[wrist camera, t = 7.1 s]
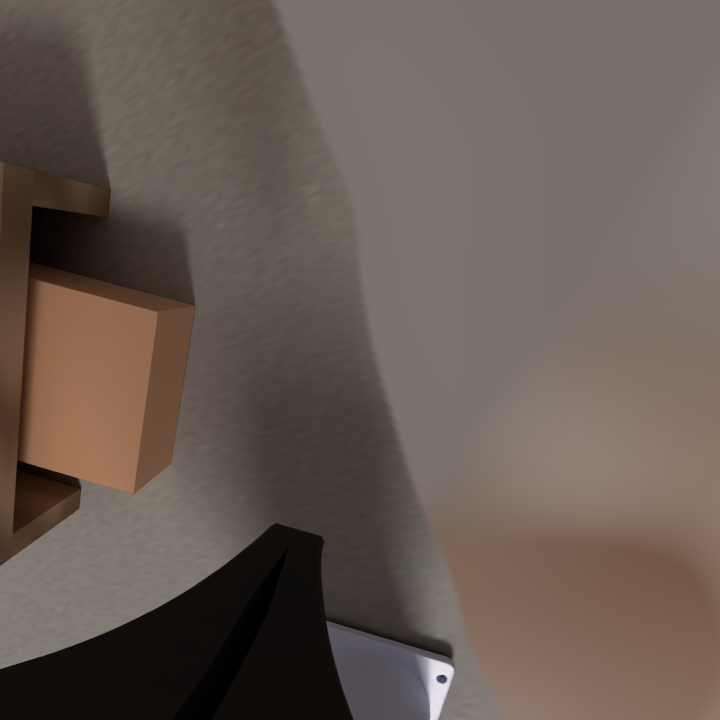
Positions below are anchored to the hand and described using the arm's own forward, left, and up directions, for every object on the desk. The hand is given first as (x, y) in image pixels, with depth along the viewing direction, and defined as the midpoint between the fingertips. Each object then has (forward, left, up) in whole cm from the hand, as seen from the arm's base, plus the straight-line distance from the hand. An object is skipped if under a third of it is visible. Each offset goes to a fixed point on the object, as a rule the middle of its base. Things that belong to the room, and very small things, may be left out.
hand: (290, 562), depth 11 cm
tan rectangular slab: (0, +14, -9) cm, 17 cm away
